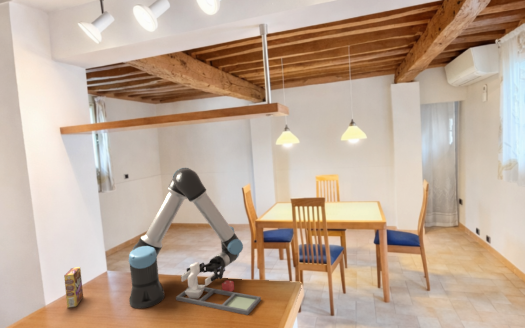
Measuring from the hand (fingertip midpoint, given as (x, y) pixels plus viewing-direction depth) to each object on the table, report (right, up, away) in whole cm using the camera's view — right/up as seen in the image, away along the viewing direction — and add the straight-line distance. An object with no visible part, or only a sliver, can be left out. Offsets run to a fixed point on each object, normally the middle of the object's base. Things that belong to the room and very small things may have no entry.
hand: (193, 280), depth 142 cm
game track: (+12, -7, -3) cm, 14 cm away
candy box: (-56, -12, +4) cm, 57 cm away
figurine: (+1, -8, +2) cm, 8 cm away
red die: (+15, -6, +5) cm, 17 cm away
